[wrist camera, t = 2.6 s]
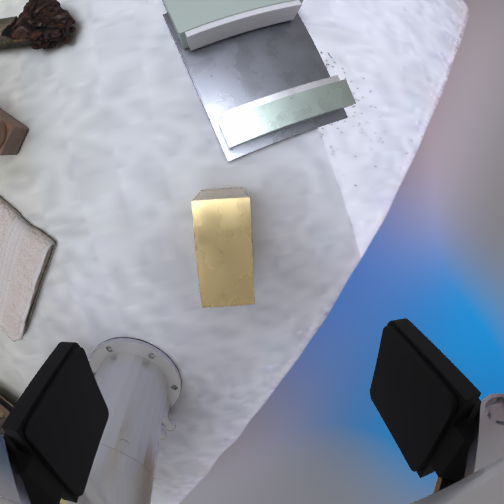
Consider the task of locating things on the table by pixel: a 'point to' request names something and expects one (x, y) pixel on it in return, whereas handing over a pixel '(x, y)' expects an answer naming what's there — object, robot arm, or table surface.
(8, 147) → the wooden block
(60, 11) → the brown lumpy club
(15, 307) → the washcloth
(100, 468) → the robot arm
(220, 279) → the brass block
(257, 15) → the block
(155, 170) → the table surface
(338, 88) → the vise
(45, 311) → the table surface
